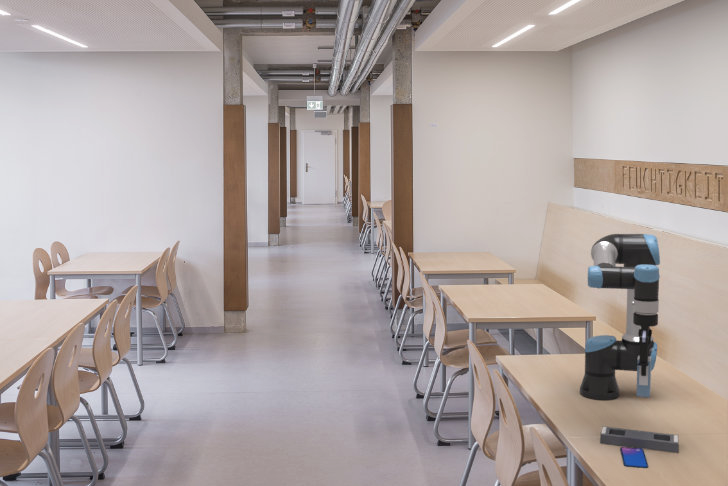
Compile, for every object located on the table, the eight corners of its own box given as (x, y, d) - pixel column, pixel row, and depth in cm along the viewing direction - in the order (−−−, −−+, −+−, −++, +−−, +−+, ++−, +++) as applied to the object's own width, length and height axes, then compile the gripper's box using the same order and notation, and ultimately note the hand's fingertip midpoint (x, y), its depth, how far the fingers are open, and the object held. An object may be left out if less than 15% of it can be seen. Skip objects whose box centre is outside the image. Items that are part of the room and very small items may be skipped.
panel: (602, 434, 259) (602, 425, 258) (678, 443, 250) (678, 434, 249) (600, 443, 251) (600, 433, 251) (678, 452, 242) (678, 443, 242)
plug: (637, 392, 251) (638, 355, 249) (650, 394, 249) (651, 356, 248) (636, 396, 247) (637, 358, 246) (649, 397, 245) (650, 359, 244)
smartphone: (623, 465, 233) (619, 446, 247) (623, 468, 233) (619, 449, 247) (649, 467, 231) (643, 448, 245) (648, 470, 231) (643, 450, 245)
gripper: (635, 307, 254) (633, 374, 257) (631, 317, 239) (629, 389, 241) (659, 308, 251) (657, 377, 254) (656, 318, 236) (654, 391, 238)
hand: (643, 382), depth 248 cm, fingers closed on plug, 4 cm apart
